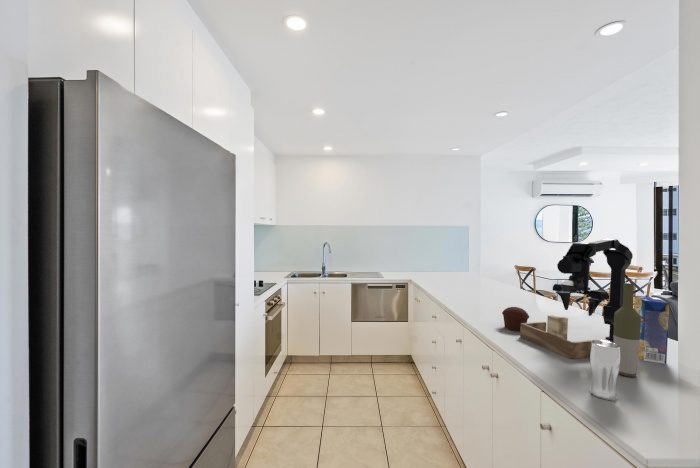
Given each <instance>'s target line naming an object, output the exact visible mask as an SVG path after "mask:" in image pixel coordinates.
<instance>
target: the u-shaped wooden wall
mask: <svg viewBox="0 0 700 468" xmlns="http://www.w3.org/2000/svg"><path fill="white" fill-rule="evenodd" d="M519 336H520V338H521V339H524V340H526V341H528V342H531V343H533V344H535V345H537V346H540V347H543V348H544V349H546V350H549V351H552V352H554V353H556V354H558V355H561V356H563V355H564V357H566V358H568V359H570V358H571V359H570V360H577V358H579V359H586V358H585V357H588V358H590V349H591V341H592V340H593V339H590V340H589V339H588V340H580V341H579V340H577V341H570V340H568V339H567V340H566V339H563V338H561V337H558V336H555V335H552V334H550V333H547V321H538V322H535V321H534V322H527V323H521V326H520V332H519Z"/></svg>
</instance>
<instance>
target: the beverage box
mask: <svg viewBox="0 0 700 468" xmlns="http://www.w3.org/2000/svg"><path fill="white" fill-rule="evenodd" d="M633 308H634V309H635V310H636V311H637V312H638V313H639V314H640V315H641V329H640V343H639V357H638V359H640V360H641V361H644V362H645V361H646V362H651V363H659V364H665V365H666V364H667V358H668V357H667V356H668V340H669V339H668V338H669V336H668V335H669V319H670V317H669V315H670V302H668V301H667V300H666V301H665V300H663V299H662V298H659V297H654V296H642V295H634V302H633Z"/></svg>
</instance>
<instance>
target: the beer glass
mask: <svg viewBox="0 0 700 468" xmlns="http://www.w3.org/2000/svg"><path fill="white" fill-rule="evenodd" d="M591 340H592V341H591V349H590V357H589V363H590V370H591V379H592V381H591V387H590V390H589V391H590V392H589V393H590V394H591V395H592V396H594V397H595V398H598V399H601V400H604V401H605V400H606V401H612V402H613V401H616V400H617V391H616V384H617V379H618V375H619V374H618V373H619V368H620V346H619V345H618V344H616V343H613V342H612V341H608V340H604V339H603V340H602V339H591Z"/></svg>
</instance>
